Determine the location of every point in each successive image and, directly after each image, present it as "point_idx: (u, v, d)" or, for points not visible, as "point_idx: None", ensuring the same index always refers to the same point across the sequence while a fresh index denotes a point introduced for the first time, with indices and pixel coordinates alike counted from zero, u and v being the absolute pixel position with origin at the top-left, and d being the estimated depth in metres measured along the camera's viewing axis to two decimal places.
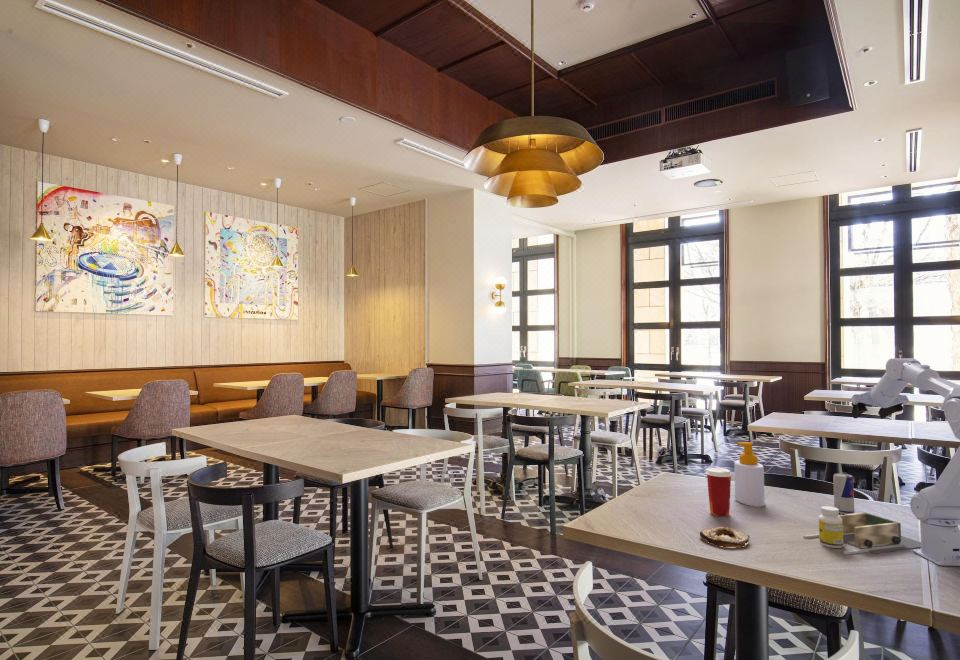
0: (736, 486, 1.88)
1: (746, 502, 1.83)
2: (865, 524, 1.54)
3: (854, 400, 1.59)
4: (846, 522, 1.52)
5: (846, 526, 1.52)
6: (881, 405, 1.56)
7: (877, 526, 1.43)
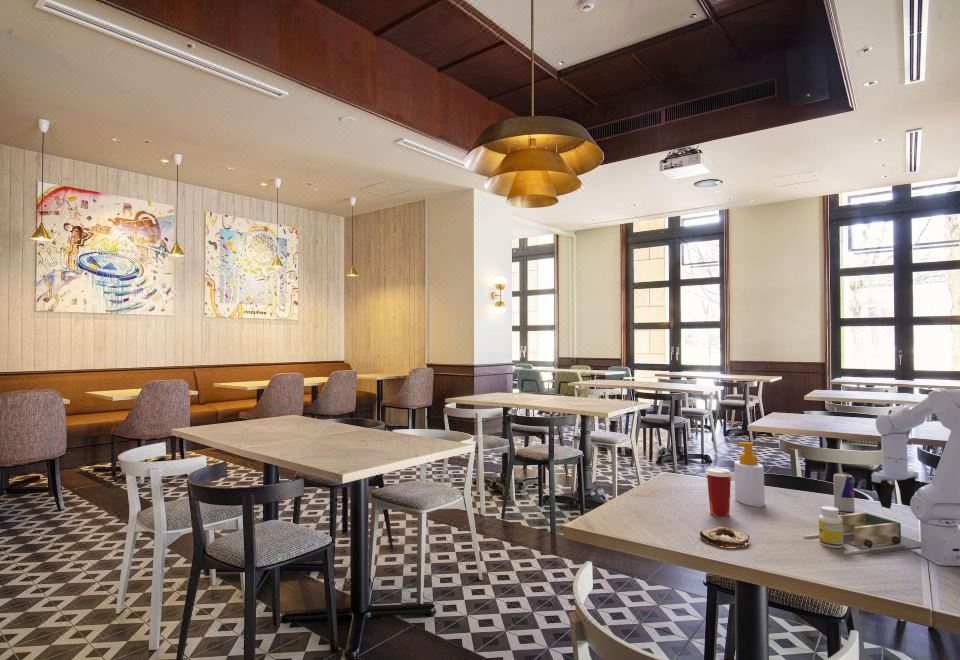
0: (736, 486, 1.88)
1: (746, 502, 1.83)
2: (865, 524, 1.54)
3: (876, 477, 1.50)
4: (846, 522, 1.52)
5: (846, 526, 1.52)
6: (901, 475, 1.49)
7: (877, 526, 1.43)
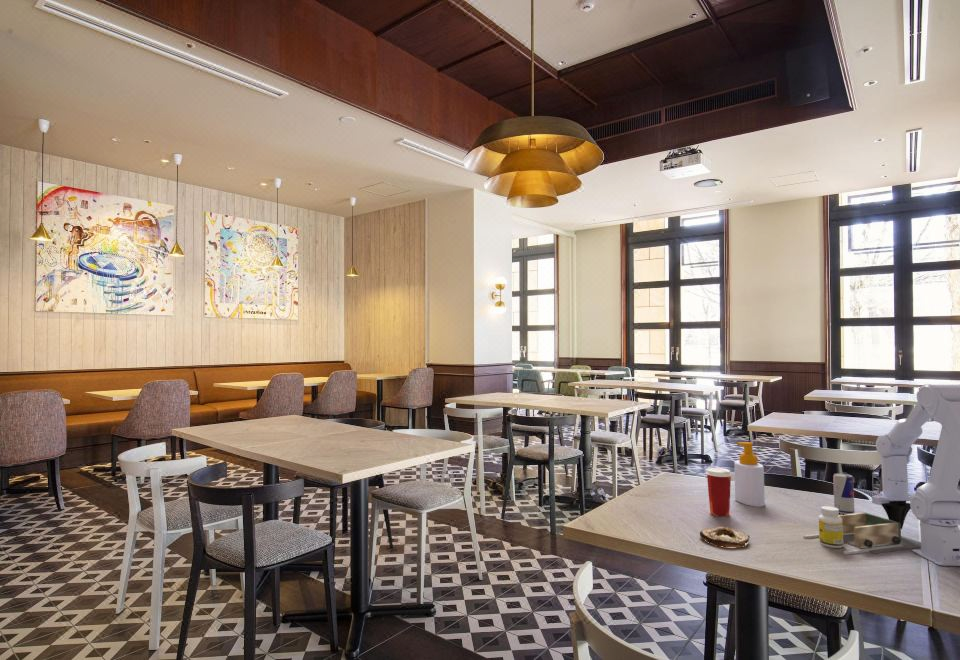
0: (736, 486, 1.88)
1: (746, 502, 1.83)
2: (865, 524, 1.54)
3: (876, 499, 1.49)
4: (846, 522, 1.52)
5: (846, 526, 1.52)
6: (902, 497, 1.49)
7: (877, 526, 1.43)
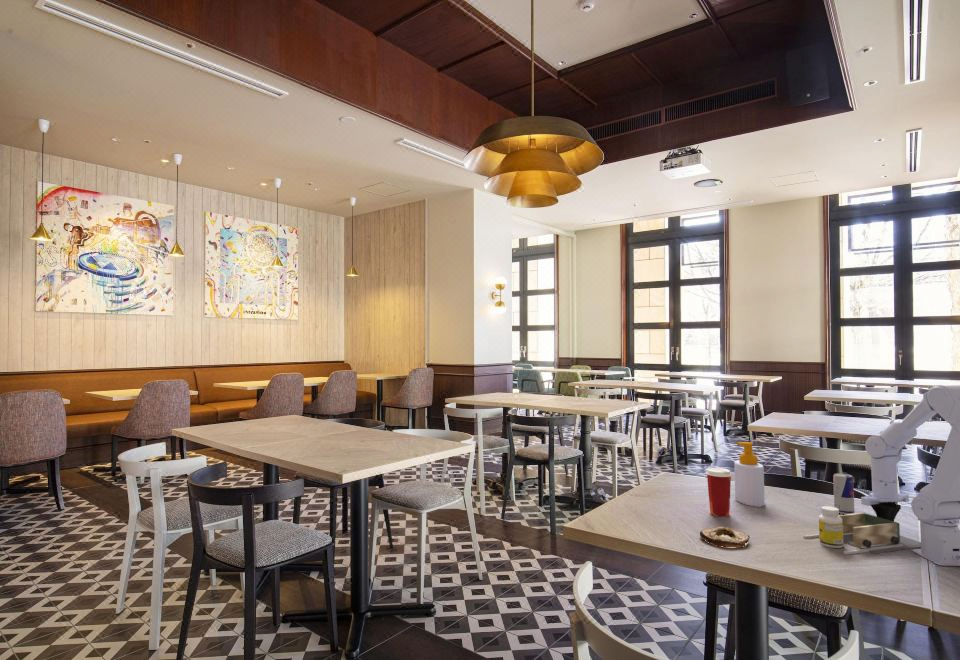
0: (736, 486, 1.88)
1: (746, 502, 1.83)
2: (864, 524, 1.54)
3: (865, 500, 1.48)
4: (845, 522, 1.52)
5: (845, 526, 1.52)
6: (891, 498, 1.48)
7: (876, 526, 1.43)
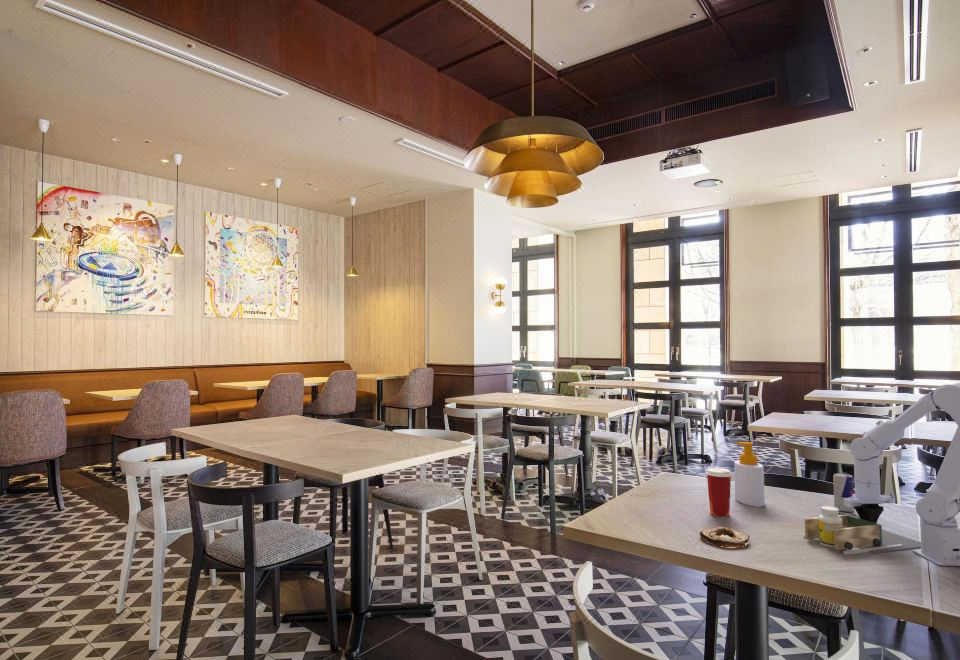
0: (736, 486, 1.88)
1: (746, 502, 1.83)
2: (847, 526, 1.52)
3: (848, 502, 1.47)
4: None
5: None
6: (874, 500, 1.46)
7: (858, 528, 1.42)
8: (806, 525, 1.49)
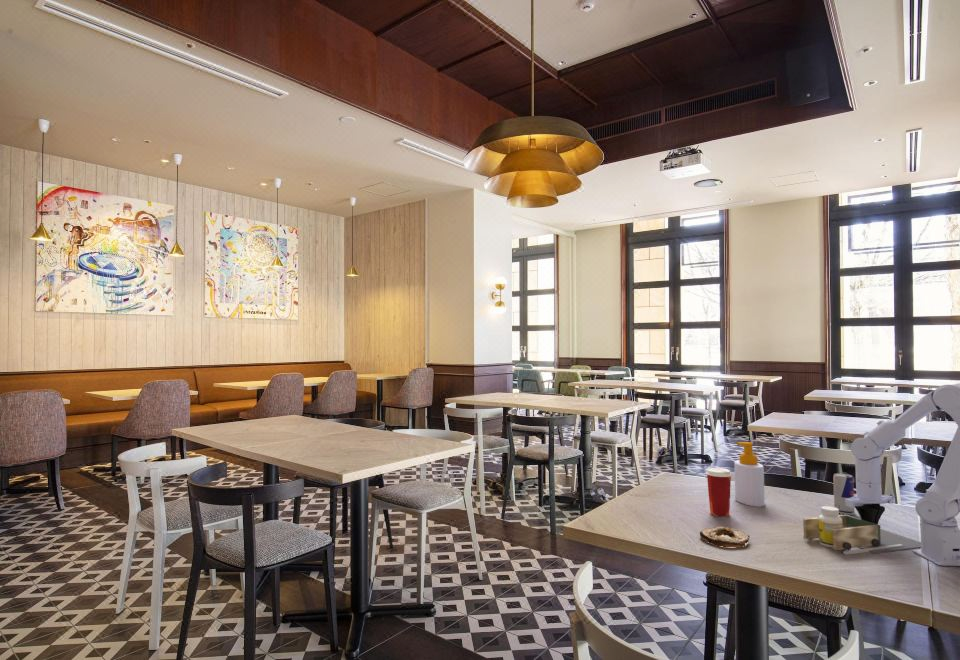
0: (736, 486, 1.88)
1: (746, 502, 1.83)
2: (845, 526, 1.52)
3: (849, 502, 1.47)
4: None
5: None
6: (875, 500, 1.46)
7: (856, 528, 1.41)
8: (805, 525, 1.49)
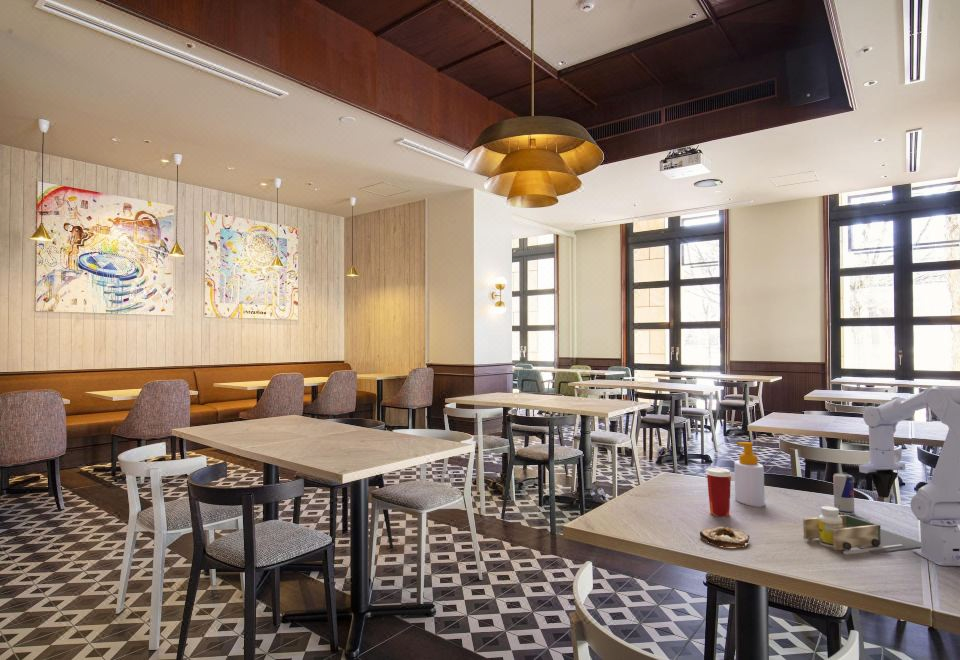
0: (736, 486, 1.88)
1: (746, 502, 1.83)
2: (845, 526, 1.52)
3: (863, 468, 1.52)
4: None
5: None
6: (888, 466, 1.52)
7: (856, 528, 1.41)
8: (805, 525, 1.49)
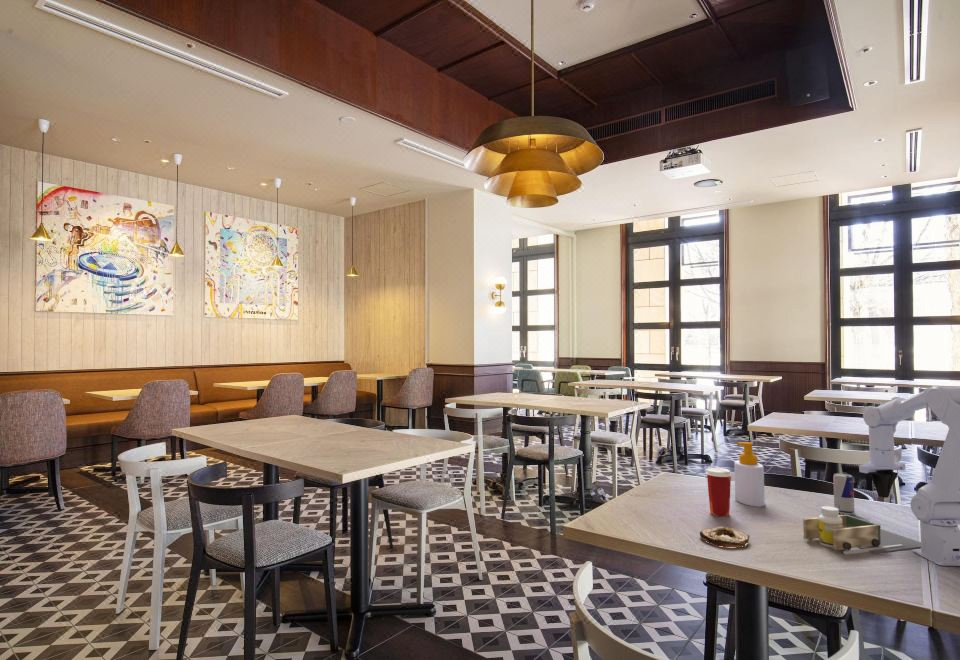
0: (736, 486, 1.88)
1: (746, 502, 1.83)
2: (845, 526, 1.52)
3: (863, 468, 1.52)
4: None
5: None
6: (888, 466, 1.52)
7: (856, 528, 1.41)
8: (805, 525, 1.49)
